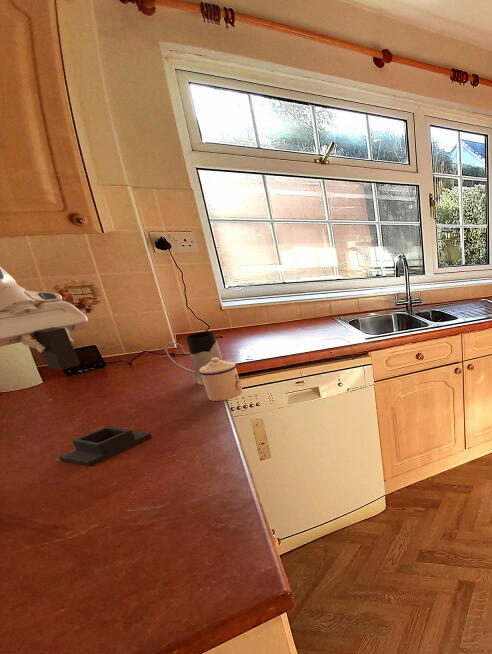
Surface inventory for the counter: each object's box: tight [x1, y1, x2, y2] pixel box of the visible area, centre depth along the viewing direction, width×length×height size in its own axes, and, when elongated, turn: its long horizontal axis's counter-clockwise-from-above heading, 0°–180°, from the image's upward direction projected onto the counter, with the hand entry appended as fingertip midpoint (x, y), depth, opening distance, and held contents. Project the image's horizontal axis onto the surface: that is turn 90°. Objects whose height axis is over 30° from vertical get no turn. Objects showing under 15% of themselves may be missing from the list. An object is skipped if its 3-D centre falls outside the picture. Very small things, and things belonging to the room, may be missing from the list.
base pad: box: [59, 426, 152, 467], centre depth 97 cm, size 13×9×4 cm
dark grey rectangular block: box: [33, 327, 81, 371], centre depth 109 cm, size 4×5×10 cm
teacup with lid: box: [199, 358, 244, 402], centre depth 124 cm, size 12×9×12 cm
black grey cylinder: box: [164, 331, 224, 386], centre depth 134 cm, size 9×14×15 cm, turn 114°
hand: (58, 347), depth 108 cm, fingers closed on dark grey rectangular block, 4 cm apart
